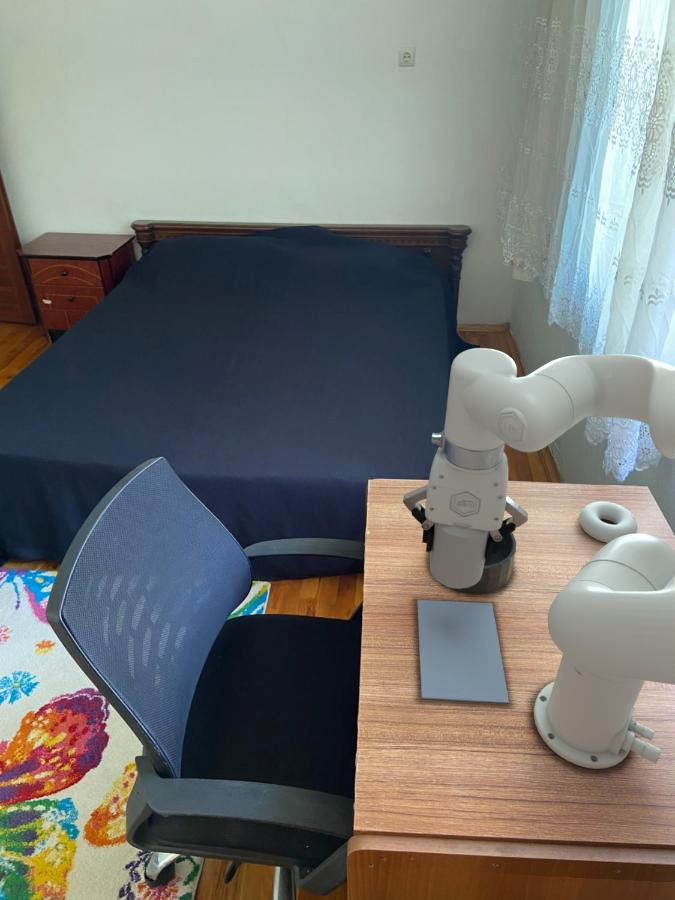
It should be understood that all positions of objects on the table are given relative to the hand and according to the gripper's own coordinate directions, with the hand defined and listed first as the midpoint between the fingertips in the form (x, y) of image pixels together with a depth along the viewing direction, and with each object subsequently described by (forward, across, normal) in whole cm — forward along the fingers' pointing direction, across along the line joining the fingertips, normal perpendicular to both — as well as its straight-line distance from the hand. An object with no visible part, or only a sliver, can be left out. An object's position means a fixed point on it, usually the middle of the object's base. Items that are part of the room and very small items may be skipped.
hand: (458, 549), depth 90 cm
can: (+5, 0, 0) cm, 5 cm away
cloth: (+17, +2, -3) cm, 17 cm away
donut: (+17, +26, +30) cm, 43 cm away
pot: (+17, +2, +15) cm, 23 cm away
